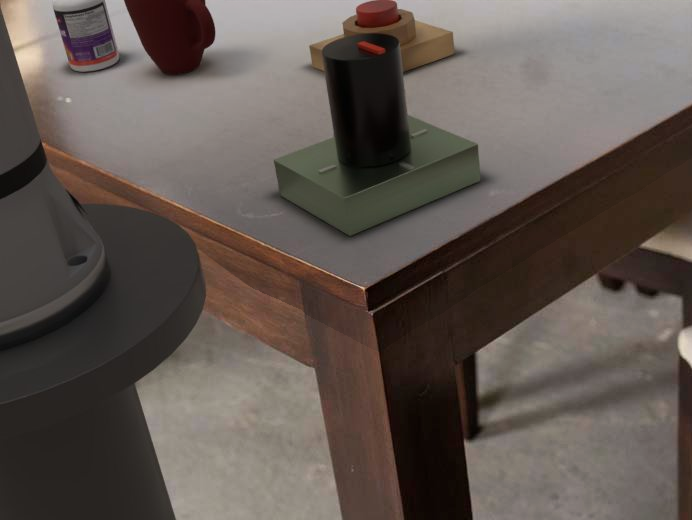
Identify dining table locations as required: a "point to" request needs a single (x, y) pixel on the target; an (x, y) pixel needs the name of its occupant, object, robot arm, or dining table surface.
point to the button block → (414, 37)
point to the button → (377, 13)
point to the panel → (377, 178)
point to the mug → (173, 32)
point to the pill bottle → (86, 34)
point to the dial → (367, 99)
